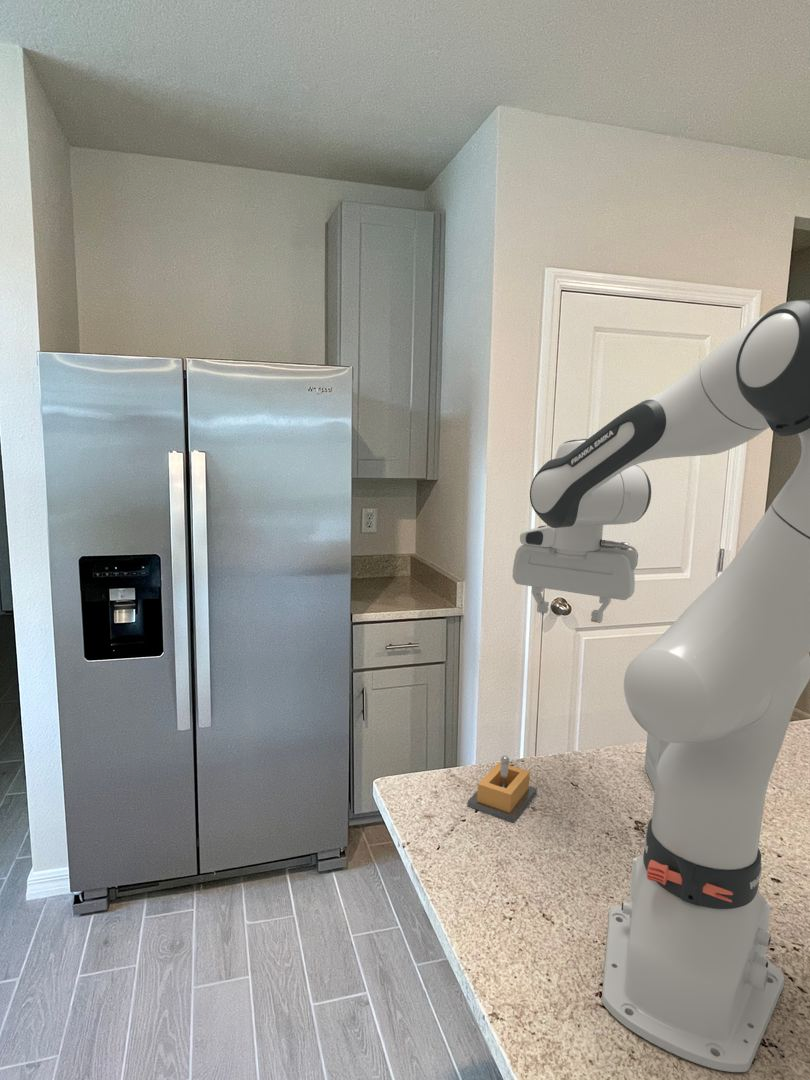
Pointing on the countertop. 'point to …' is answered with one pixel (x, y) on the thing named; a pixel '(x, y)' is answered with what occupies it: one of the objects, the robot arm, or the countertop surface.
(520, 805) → the keeper post
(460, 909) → the countertop surface
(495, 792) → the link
